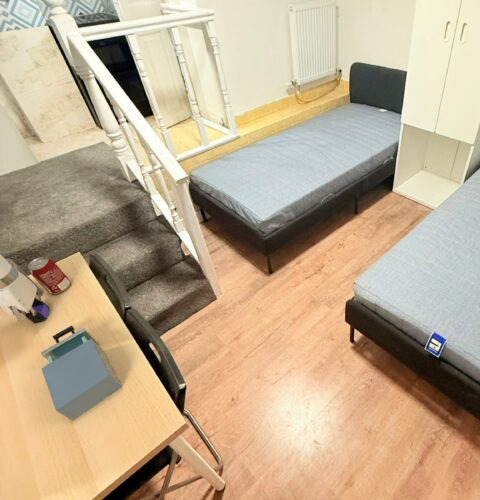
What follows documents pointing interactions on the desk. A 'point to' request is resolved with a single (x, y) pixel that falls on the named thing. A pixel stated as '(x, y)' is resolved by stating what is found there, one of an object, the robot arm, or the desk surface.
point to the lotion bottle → (23, 274)
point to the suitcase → (80, 380)
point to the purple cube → (42, 310)
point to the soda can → (48, 275)
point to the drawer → (66, 343)
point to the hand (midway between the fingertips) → (41, 315)
